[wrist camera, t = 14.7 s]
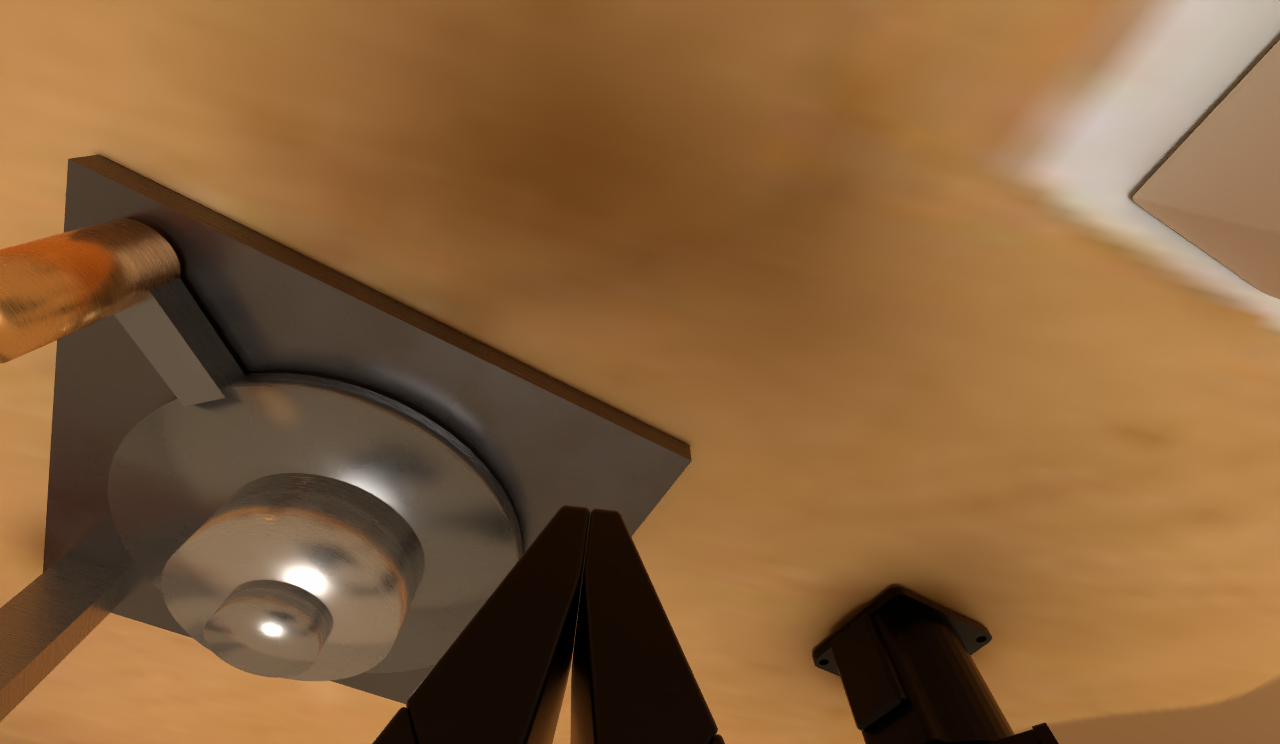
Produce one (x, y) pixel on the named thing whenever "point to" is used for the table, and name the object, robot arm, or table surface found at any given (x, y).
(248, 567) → the cover
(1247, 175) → the milk carton
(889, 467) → the table surface
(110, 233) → the turntable
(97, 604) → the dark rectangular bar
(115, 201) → the base plate
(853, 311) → the table surface
